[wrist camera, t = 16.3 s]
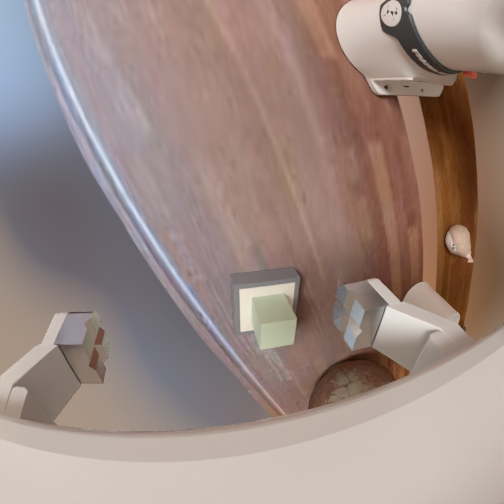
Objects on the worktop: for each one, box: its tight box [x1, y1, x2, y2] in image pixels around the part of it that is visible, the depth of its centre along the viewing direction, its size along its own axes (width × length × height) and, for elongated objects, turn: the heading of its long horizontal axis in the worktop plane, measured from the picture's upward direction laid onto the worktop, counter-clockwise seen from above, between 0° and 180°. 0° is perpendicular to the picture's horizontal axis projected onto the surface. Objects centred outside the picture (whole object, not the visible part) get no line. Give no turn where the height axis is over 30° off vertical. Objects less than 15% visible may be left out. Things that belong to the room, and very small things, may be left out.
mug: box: [403, 282, 460, 324], centre depth 51 cm, size 12×8×12 cm
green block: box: [251, 293, 297, 350], centre depth 41 cm, size 5×5×6 cm
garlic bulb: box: [445, 225, 474, 262], centre depth 47 cm, size 7×6×8 cm
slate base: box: [231, 267, 300, 335], centre depth 45 cm, size 10×10×3 cm
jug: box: [308, 360, 396, 409], centre depth 50 cm, size 22×22×30 cm
